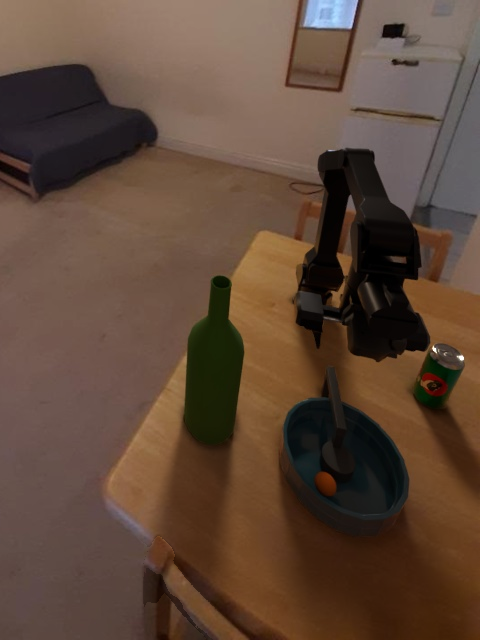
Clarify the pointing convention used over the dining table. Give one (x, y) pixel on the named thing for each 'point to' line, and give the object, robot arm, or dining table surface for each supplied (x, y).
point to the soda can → (438, 375)
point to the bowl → (369, 475)
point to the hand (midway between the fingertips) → (346, 353)
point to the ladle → (336, 434)
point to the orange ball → (325, 484)
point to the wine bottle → (213, 369)
